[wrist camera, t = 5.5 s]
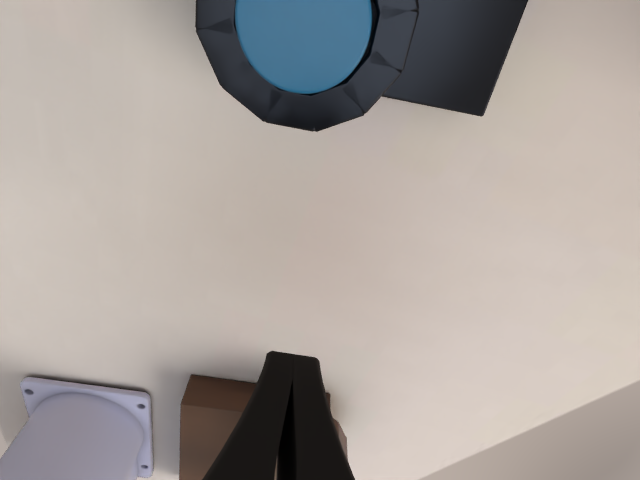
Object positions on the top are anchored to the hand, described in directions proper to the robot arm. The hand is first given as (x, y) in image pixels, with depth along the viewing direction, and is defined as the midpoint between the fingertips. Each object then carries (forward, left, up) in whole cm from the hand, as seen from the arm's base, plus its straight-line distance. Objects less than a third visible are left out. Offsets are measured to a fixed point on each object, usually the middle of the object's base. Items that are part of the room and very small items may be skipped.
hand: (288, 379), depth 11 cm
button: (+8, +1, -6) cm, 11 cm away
